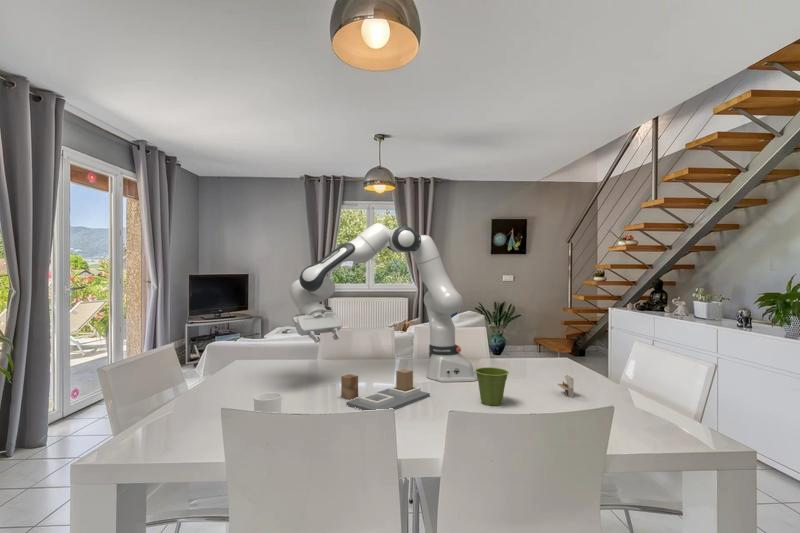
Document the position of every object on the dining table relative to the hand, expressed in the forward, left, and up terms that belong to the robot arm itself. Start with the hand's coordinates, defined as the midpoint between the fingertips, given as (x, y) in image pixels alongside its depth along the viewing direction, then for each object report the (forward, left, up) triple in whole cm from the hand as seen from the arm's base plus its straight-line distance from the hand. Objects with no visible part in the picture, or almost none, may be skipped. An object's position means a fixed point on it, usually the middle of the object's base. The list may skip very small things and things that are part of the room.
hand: (327, 340), depth 163 cm
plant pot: (-62, +8, -20) cm, 66 cm away
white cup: (+6, +41, -20) cm, 46 cm away
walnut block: (-10, +7, -20) cm, 24 cm away
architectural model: (-91, -4, -21) cm, 93 cm away
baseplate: (-26, +9, -20) cm, 34 cm away
